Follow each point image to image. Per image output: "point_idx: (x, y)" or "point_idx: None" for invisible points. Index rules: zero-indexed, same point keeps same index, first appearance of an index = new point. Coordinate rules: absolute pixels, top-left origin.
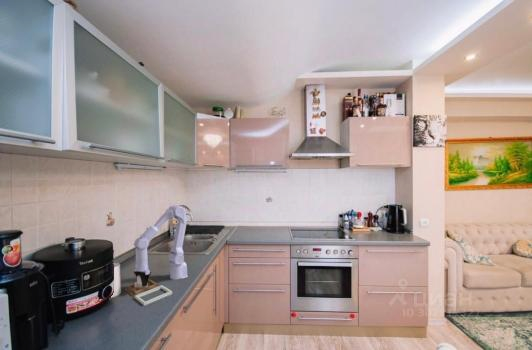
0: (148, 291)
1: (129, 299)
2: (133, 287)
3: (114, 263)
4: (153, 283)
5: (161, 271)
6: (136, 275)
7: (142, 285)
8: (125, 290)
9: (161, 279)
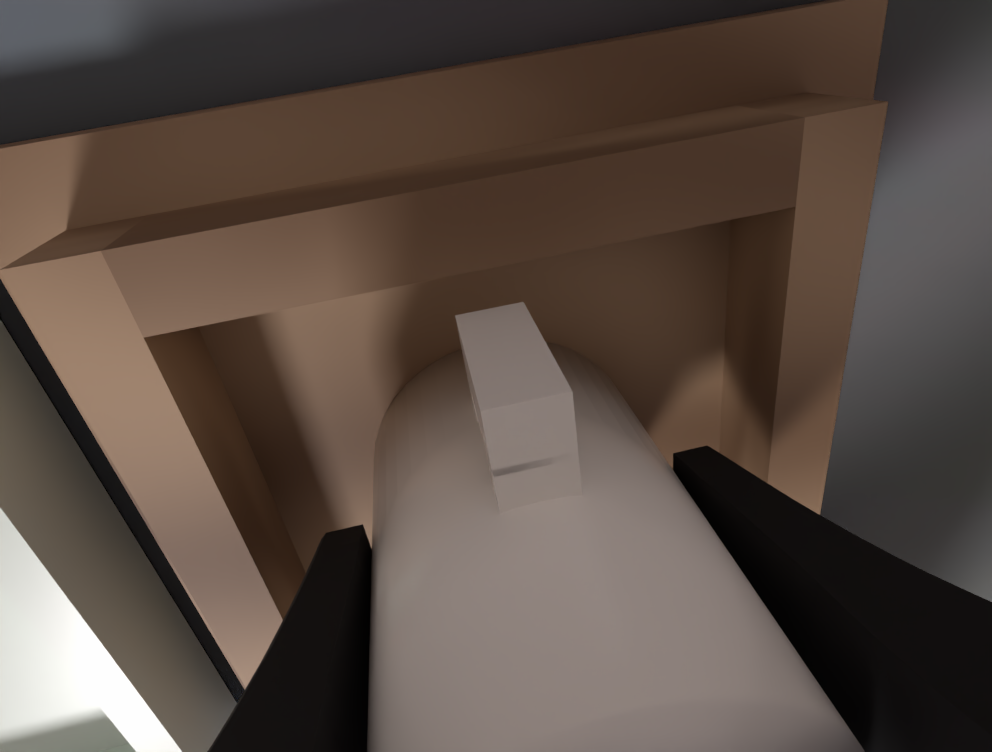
0: (8, 578)
1: (76, 14)
2: (737, 274)
3: None
4: None
5: None
6: (926, 679)
7: (348, 543)
8: (768, 20)
9: None
